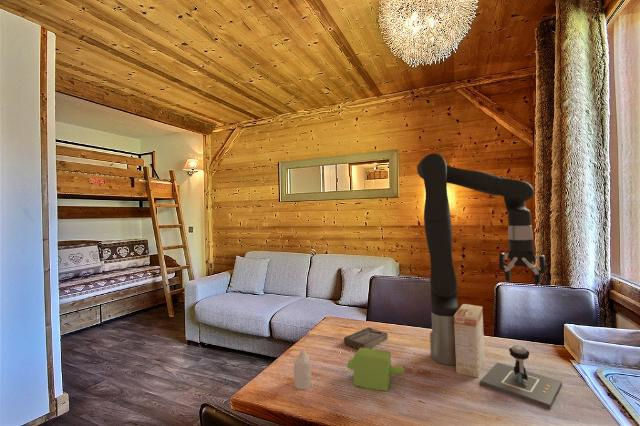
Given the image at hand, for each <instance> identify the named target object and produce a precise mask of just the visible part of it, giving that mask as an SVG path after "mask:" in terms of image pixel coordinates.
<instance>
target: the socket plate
mask: <svg viewBox="0 0 640 426" xmlns="http://www.w3.org/2000/svg"><path fill="white" fill-rule="evenodd" d="M514 367H515V366H511V365H507V364H504V363H500V362H497V363H496V364H495V365H493V367H492V368H491V369H489V371H488V372H487V373H485V375H484V376H482V378H481V379H480V381H479V383H480V384H479V385H481V386H483V387H487V388H489V389H492V390H495V391H498V392H499V393H503V394H507V395H509V396H513V397H515V398H518V399H520V400H524V401H526V402H529V403H532V404H534V405H537V406H541V407H543V408H546V409H549V410H551V409H552V406H553V404H554V403H555V400H556V398H557V396H558V394H559V392H560V390H561V389H562V386H563V381H562V380H558V379H557V378H556V379H555V378H552V377H548V376H546V375H542V374H538V373H534V372H531V371H528V370H526V374H527V378H528V380H526V381H527V382H526V384H527V385H524V384H523V383H519V381H518V380H517V379H516V380H515V378H514Z"/></svg>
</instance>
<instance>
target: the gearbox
mask: <svg viewBox="0 0 640 426" xmlns="http://www.w3.org/2000/svg"><path fill="white" fill-rule="evenodd" d="M391 357H392V356H391V351H389V350H388V351H387V350H381V349H376V348H375V349H374V348H369V349H368V348H359V350H358V349H357V351H356V352H355V354H354V356H353V357H350V359H349V360H348V361H347V368H348V369H350V370H352V371H353V385H354V386H356V387H361V388H366V389H371V390H378V391H385V392H387V391H388V390H389V388H390V384H391V377H392V376H394V375H401V374H404V373H405V368H404V366H402V365H400V366H392V363H391V362H392V360H391Z"/></svg>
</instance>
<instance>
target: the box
mask: <svg viewBox="0 0 640 426" xmlns="http://www.w3.org/2000/svg"><path fill="white" fill-rule="evenodd" d="M388 339H389V334H388V333H387V332H385V331H381V330H378V329H375V328H372V327H369V326H368V327H365V328H363V329H361V330H358V331H355V332H353V333H351V334H349V335H347V336H344V337H343V344H344V345H346V346H347V347H350V348H352V349H356V350H357V351H358V350H359V348H368V349H373V347H376V346H377V345H380V344H382V343H384V342H385V341H387V340H388Z"/></svg>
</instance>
